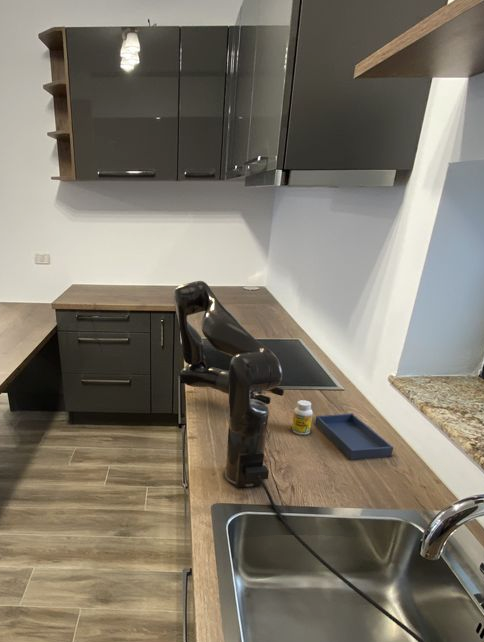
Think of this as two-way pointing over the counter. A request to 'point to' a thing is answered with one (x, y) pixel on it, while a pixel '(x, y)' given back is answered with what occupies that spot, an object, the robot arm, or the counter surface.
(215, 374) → the robot arm
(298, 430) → the supplement bottle
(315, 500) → the counter surface
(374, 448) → the tray
